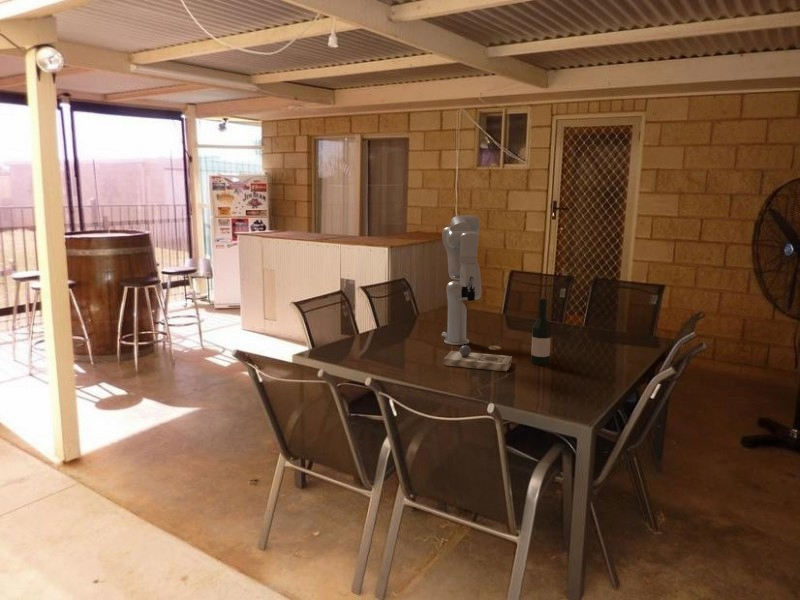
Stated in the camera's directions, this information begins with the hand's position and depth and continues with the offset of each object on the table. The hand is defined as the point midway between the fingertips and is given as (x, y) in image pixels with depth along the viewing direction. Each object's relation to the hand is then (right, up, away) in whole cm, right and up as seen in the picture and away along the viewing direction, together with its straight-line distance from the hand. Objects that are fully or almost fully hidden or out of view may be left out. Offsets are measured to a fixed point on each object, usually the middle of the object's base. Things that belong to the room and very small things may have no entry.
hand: (467, 298), depth 271 cm
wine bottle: (+32, -29, +1) cm, 44 cm away
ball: (-1, -23, +1) cm, 23 cm away
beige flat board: (+5, -29, 0) cm, 29 cm away
